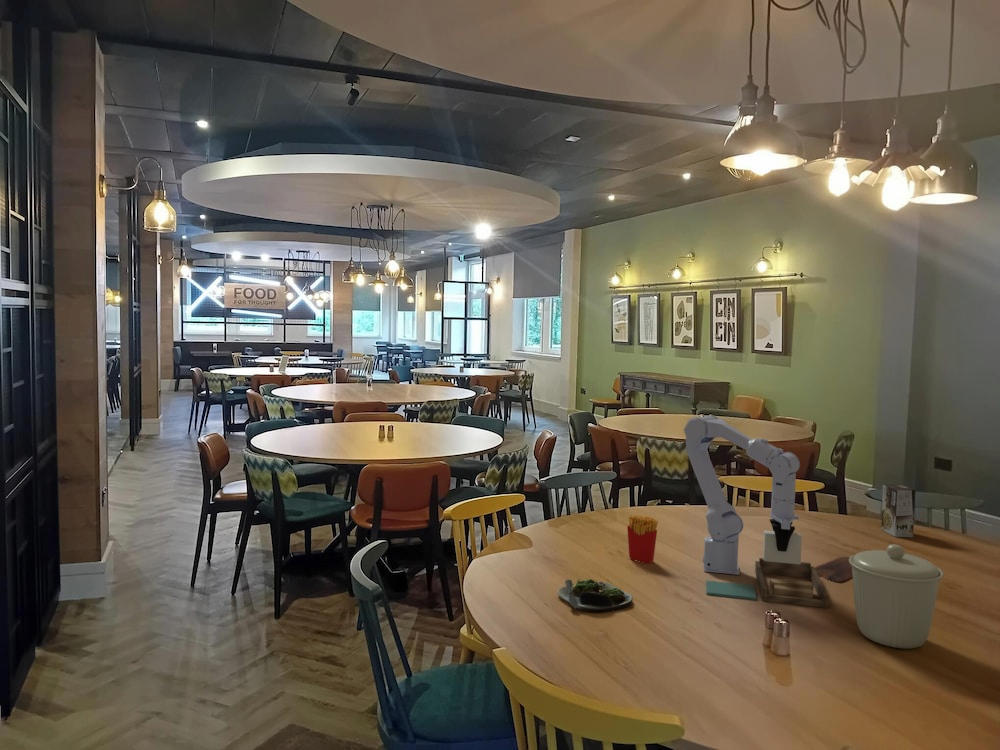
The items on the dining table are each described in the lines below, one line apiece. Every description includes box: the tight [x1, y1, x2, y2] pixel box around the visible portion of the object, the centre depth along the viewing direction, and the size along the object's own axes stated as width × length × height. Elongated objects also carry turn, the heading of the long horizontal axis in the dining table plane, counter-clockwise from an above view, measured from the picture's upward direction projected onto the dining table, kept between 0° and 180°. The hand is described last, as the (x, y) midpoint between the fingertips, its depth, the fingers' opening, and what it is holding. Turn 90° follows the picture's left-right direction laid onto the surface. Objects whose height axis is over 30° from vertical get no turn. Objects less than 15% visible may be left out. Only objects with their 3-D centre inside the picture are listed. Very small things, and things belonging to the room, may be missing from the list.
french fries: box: [627, 514, 659, 564], centre depth 204 cm, size 9×4×13 cm, turn 50°
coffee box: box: [880, 483, 917, 538], centre depth 236 cm, size 9×6×16 cm
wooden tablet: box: [814, 556, 853, 584], centre depth 200 cm, size 26×2×10 cm
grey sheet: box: [762, 529, 803, 565], centre depth 185 cm, size 9×3×8 cm, turn 75°
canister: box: [849, 543, 945, 650], centre depth 153 cm, size 18×18×21 cm
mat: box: [705, 580, 757, 601], centre depth 181 cm, size 12×9×1 cm
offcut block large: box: [769, 578, 814, 595], centre depth 179 cm, size 10×2×4 cm, turn 79°
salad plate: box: [557, 578, 633, 614], centre depth 175 cm, size 19×18×5 cm
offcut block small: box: [774, 585, 814, 599], centre depth 176 cm, size 9×2×3 cm, turn 70°
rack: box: [754, 557, 830, 609], centre depth 183 cm, size 15×23×4 cm
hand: (780, 548), depth 185 cm, fingers closed on grey sheet, 3 cm apart
